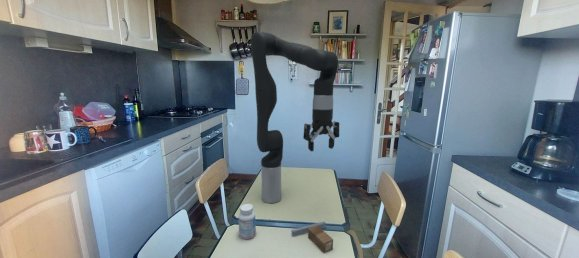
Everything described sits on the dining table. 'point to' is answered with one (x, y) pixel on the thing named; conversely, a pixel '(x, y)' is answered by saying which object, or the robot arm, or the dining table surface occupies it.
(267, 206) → the dining table surface
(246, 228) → the pill bottle
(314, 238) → the walnut block
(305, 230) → the rail
